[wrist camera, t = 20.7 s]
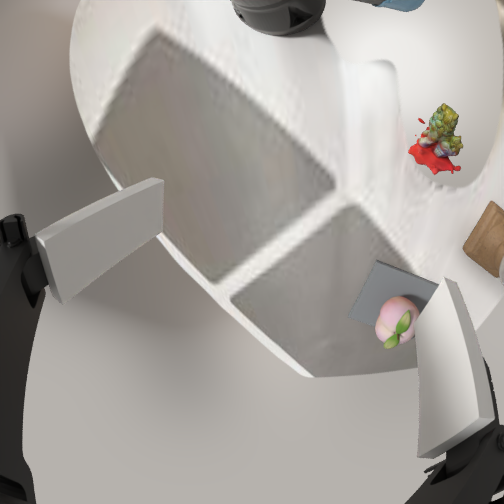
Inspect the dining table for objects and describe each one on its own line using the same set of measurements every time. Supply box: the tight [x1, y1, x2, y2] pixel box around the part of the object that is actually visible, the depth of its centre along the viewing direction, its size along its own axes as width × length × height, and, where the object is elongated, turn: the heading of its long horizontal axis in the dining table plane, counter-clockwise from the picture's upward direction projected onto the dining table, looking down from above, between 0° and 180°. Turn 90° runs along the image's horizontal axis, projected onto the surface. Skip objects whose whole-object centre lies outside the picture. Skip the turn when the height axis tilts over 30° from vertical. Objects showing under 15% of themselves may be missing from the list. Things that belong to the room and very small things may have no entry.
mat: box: [348, 260, 439, 339], centre depth 47 cm, size 16×14×1 cm
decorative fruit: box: [375, 296, 420, 349], centre depth 43 cm, size 9×8×10 cm
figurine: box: [408, 103, 463, 175], centre depth 29 cm, size 8×10×12 cm
